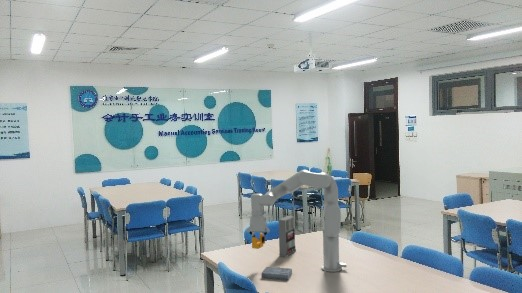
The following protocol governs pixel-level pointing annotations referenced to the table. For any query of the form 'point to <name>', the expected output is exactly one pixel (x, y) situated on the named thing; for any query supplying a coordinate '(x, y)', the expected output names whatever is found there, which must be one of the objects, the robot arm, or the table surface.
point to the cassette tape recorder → (286, 236)
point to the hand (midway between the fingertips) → (258, 241)
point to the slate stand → (276, 273)
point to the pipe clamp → (257, 242)
